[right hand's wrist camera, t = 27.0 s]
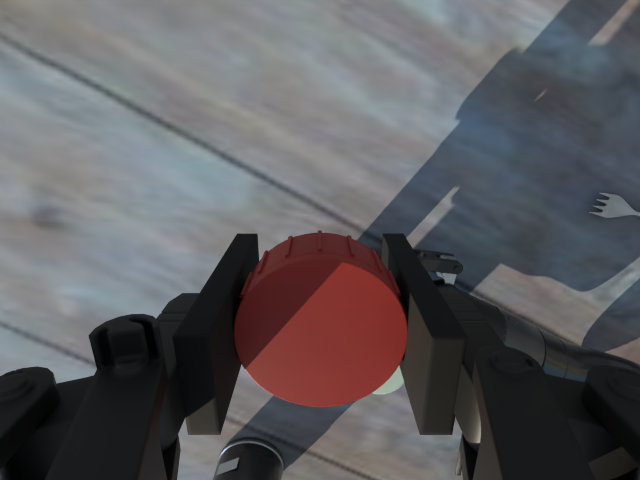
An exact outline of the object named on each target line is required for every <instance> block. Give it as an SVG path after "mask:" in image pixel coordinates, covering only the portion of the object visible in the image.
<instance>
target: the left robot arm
mask: <svg viewBox="0 0 640 480" xmlns="http://www.w3.org/2000/svg"><path fill="white" fill-rule="evenodd" d="M413 250H414V252H415V254H416V255H417V257H418V258H419V260H420V261H421V263H422V265H423V266H424V268H425V269H426V271H434V272H436V274H437V275H438V276H439V277H442V279H440V280H434V281H433V282H434V284H435V285H436V287H437V288H438V290H439V292H459V293H460V294H462V295H463V296H465V297H466V298H468V299H470V300H471V301H472V302H473V303H474V305H475V306H476V307H477V309H478V310H479V313H481V314H482V315H483V317H484V318H485V321H487V322H488V323H489V324H490V326H491V327H492V328H493V330H494V331H495V332H496V334H497V335H498V336H499V338H500V339H501V340H502V341H503V343H504V344H505V345H506V346H507V347H512V348H515V349H518V350H520V351H522V352H524V353H527V354H528V355H529V356H531V357H532V358H534V359H535V360H536V361H537V362H538V363H539V364H540V366H541V367H542V368H543V370H544V372H545V374H549V375H553V376H557V377H562V378H567V379H572V380H576V381H581V382H585V379H586V376H587V372H588V371H589V370H590V369H591V368H592V367H594V366H600V365H609V366H617V367H622V368H625V369H629V370H632V371H635V372H637V373H638V374H640V365H639V364H637V363H635V362H633V361H630V360H627V359H624V358H621V357H618V356H615V355H611V354H608V353H604V352H601V351H598V350H594V349H590V348H586V347H582V346H579V345H575V344H572V343H569V342H567V341H564V340H563V339H561V338H559V337H557V336H555V335H553V334H550V333H548V332H546V331H544V330H541V329H539V328H537V327H535V326H533V325H531V324H529V323H527V322H526V321H524V320H523V319H521V318H520V317H518V316H516V315H514V314H512V313H509V312H507V311H505V310H503V309H501V308H498V307H496V306H494V305H492V304H489V303H487V302H485V301H483V300H481V299H478V298H476V297H474V296H472V295H469V294H467V293H465V292H463V291H460V290H458V289H457V288H456V287H455V285H454V282H455V278H456V275H457V274H459V273H461V272H462V270H463V266H462V264H461V263H460V262H459V261H458V259H457V258H456V257H455V256H454V255H453V254H449V253H441V252H434V251H426V250H419V249H413ZM378 257H379V256H378ZM379 258H380V260H381V257H379ZM283 468H284V462H283V458H282V456H281V454H280V452H279V451H278V450H277V449H276V448H275V447H274V446H272V445H271V444H269V443H267V442H265V441H262V440H258V439H252V438H246V439H239V440H236V441H233V442H231V443H229V444H228V445H227V446H225V447H224V448H223V450H222V451H221V453H220V456H219V459H218V465H217V468H216V471H215V474H214V478H213V480H281V479H282V474H283Z"/></svg>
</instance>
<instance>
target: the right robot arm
mask: <svg viewBox="0 0 640 480" xmlns="http://www.w3.org/2000/svg"><path fill="white" fill-rule="evenodd" d="M381 261H382V262H383V263H384V265H385V266H386V268H387V270H388V271H390V270H391V272H392V274H393V276H394V279H395V281H396V283H397V286H398V288H399V291H400V293H401V296H399V298H400V301H401V303H402V306H403V308H404V311H405V314H406V318H407V323H408V330H407V341H406V350H405V354H404V356H403V358H402V361H401V363H400V365H399V366H400V370H401V373H402V376H403V380H404V383H405V386H406V390H407V393H408V396H409V400H410V403H411V406H412V410H413V413H414V416H415V420H416V423H417V426H418V430H419V433H420V435H452V432H453V426H454V420H455V416H456V419H457V421H458V423H459V426H460V428H461V430H462V437H461V443H460V448H459V454H458V460H457V465H456V473H455V474H456V475H461V470H462V473H463V480H640V374H638V373H637V372H635V371H632V370H629V369H625V368H622V367H617V366H609V365H600V366H594V367H592V368H591V369H590V370H589V371H588V372H587V376H586V379H585V382H581V381H576V380H572V379H567V378H562V377H557V376H553V375H549V374H545V372H544V370H543V368H542V367H541V366H540V364H539V363H538V362H537V361H536V360H535V359H534V358H532V357H531V356H529V355H528V354H527V353H524V352H522V351H520V350H518V349H515V348H512V347H507V346H506V345H505V344H504V343H503V341H502V340H501V339H500V338H499V336H498V335H497V334H496V332H495V331H494V330H493V328H492V327H491V326H490V324H489V323H488V322H487V321H485V318H484V317H483V315H482V314H481V313H479V310H478V309H477V307H476V306H475V305H474V303H473V302H472V301H471V300H470V299H468V298H466V297H465V296H463V295H462V294H460V293H459V292H439V290H438V288H437V287H436V285H435V284H434V282H433V281H432V279H431V277H430V276H429V274H428V273H427V271H426V269H425V268H424V266H423V265H422V263H421V261H420V260H419V258H418V257H417V255H416V254H415V252H414V250H413V249H412V247H411V246H410V244H409V242H408V241H407V239H406V238H405V236H404V235H403V234H383V240H382V256H381ZM258 263H259V252H258V236H257V234H237V235H236V237H235V238H234V240H233V241H232V243H231V244H230V246H229V248H228V249H227V251H226V252H225V254H224V256H223V257H222V259H221V260H220V262H219V263H218V265H217V267H216V268H215V270H214V271H213V273H212V275H211V276H210V278H209V279H208V281H207V282H206V284H205V286H204V287H203V289H202V290H201V292H200V293H182V294H181V295H179V296H177V297H176V298H174V299H173V300H171V301H170V302H169V303H168V304H167V305H166V307H165V308H164V309H163V311H162V314H160V315H159V316H158V317H157V319H156V318H154V317H153V316H150V315H145V314H131V315H126V316H121V317H117V318H115V319H112V320H109V321H107V322H105V323H103V324H101V325H100V326H98V327H97V328H95V329H94V330H93V331H92V332H91V334H90V335H89V339H90V343H91V347H92V351H93V355H94V359H95V363H96V367H97V371H96V373H95V375H94V376H90V377H86V378H82V379H77V380H72V381H67V382H62V383H58V384H56V381H55V378H54V374H53V372H51V371H50V370H49V369H48V368H43V367H29V368H22V369H18V370H16V371H11V372H8V373H6V374H4V375H2V376H0V480H177V474H178V466H179V458H180V443H179V437H178V433H179V431H180V428H181V426H182V423H183V421H184V419H185V418H186V425H187V431H188V435H220V434H221V431H222V427H223V424H224V421H225V417H226V414H227V411H228V407H229V404H230V401H231V397H232V394H233V391H234V387H235V384H236V381H237V377H238V374H239V371H240V367H241V364H242V363H241V362H240V359H239V357H238V355H237V352H236V348H235V344H234V334H233V332H234V321H235V317H236V313H237V310H238V308H239V305H240V302H241V300H242V298H240V294H241V292H242V290H243V287H244V285H245V282H246V280H247V278H248V275H249V273H250V272H252V273H253V271H254V269H255V267H256V266H257V264H258Z"/></svg>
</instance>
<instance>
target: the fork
mask: <svg viewBox="0 0 640 480" xmlns="http://www.w3.org/2000/svg"><path fill="white" fill-rule="evenodd" d="M599 194H602V195H604V196H607V197H609V200H600V199H596V200H598V201H600V202H603V203H605V204H606V206H593V207H596V208H599V209H602V210H603V211H602V212H589V213H592V214H595V215H598V216H601V217H604V218H614V217H620V216H626V215H636V216H640V212H637V211H635V210H633V209H632V208H631V207H630V206H629V205H628V203H627V202H626V201H625V200H624V199H623V198H621V197H620V196H618V195H615V194H607V193H599Z"/></svg>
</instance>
